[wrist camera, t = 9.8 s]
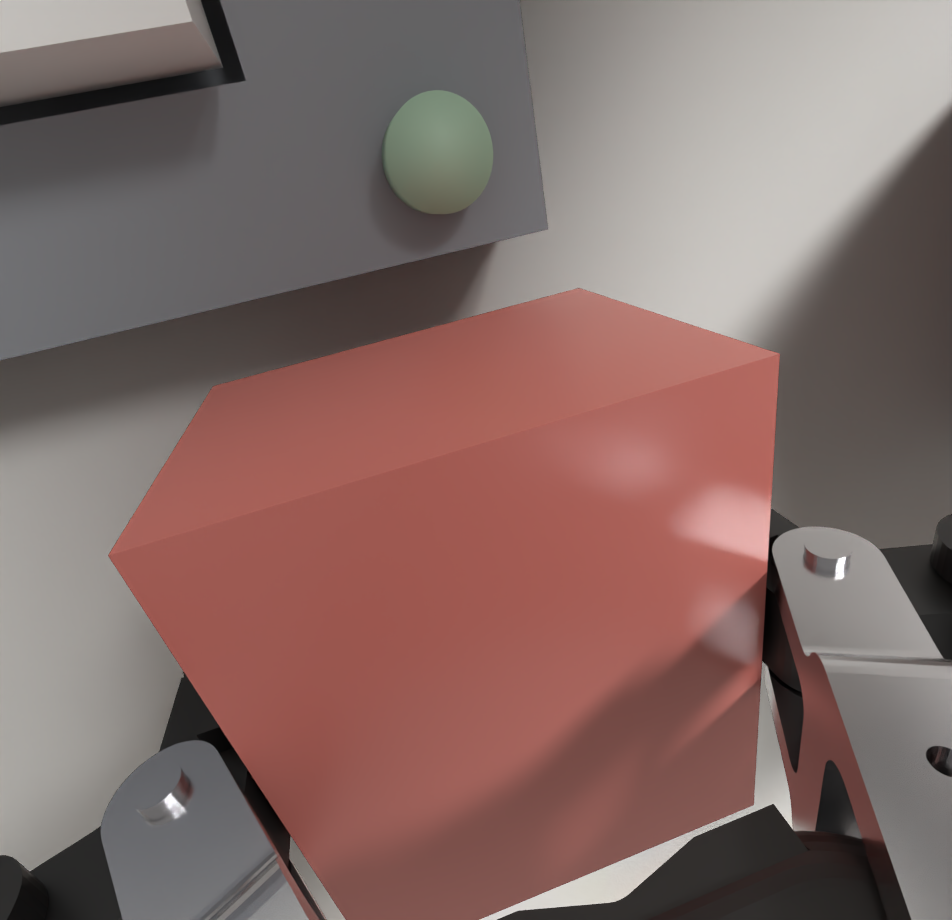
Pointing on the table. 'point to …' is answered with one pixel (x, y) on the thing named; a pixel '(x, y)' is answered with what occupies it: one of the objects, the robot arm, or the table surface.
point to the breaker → (98, 45)
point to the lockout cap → (477, 595)
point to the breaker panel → (267, 165)
